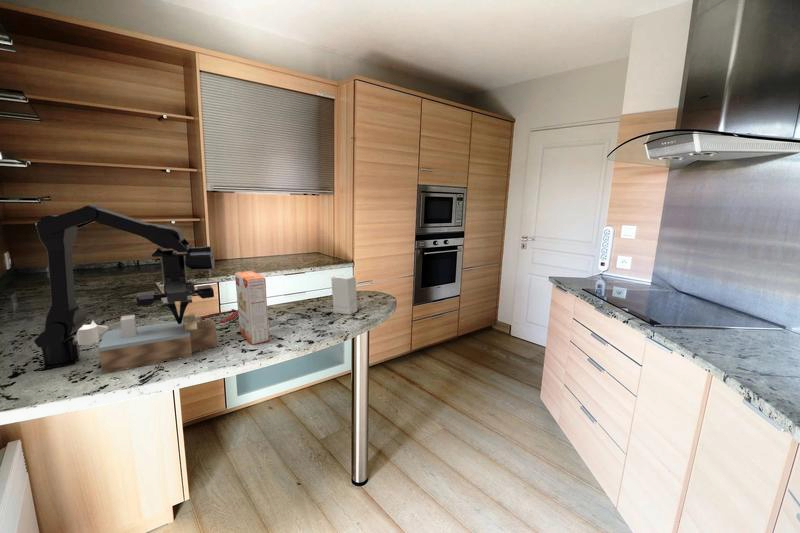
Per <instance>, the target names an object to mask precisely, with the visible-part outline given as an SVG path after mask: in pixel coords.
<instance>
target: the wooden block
mask: <svg viewBox="0 0 800 533" xmlns="http://www.w3.org/2000/svg"><path fill="white" fill-rule="evenodd" d="M196 318H197V317H196V314H195V312H188V313H187V312H186V313H184V316H183V319H182V320H183V322H184V328H185V331H189V330H195V329H197V322H198V321H197V319H196Z"/></svg>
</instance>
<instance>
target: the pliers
mask: <svg viewBox="0 0 800 533" xmlns="http://www.w3.org/2000/svg"><path fill="white" fill-rule="evenodd" d="M231 312H235V313H233V314H232V315H231V316H228V317H224V318H221V319H220V320H219V323H225V322H228V321H231V320H233V319H235V318H236V317H237V316H238V309H234V308H231V309H230V310H227V311H226V310H225V311H221V312H219V311H218V312H216V313H215V312H214V313H209V314H206V315H204V316H202V317H203V318H202V317H200V321H202V320H205V318H210V317H214V316H213V315H218V316H219V314H224V315H226V314H225V313H231ZM206 316H210V317H206Z"/></svg>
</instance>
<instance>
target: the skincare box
mask: <svg viewBox="0 0 800 533" xmlns="http://www.w3.org/2000/svg"><path fill="white" fill-rule="evenodd" d="M330 280H331V293H332V294H331V296H332V305H333V306H332V307H333V308H332V309H333V310H332V311H333V313H334V314H335V313H336V314H341V315H342V314H343V315H353V314H355V313H356V312H358V298H357V296H358V295H357V284H356V281H357V280H356V275H344V274H337V275H334V276H332V277H331V279H330Z"/></svg>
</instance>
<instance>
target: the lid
mask: <svg viewBox="0 0 800 533" xmlns="http://www.w3.org/2000/svg"><path fill="white" fill-rule="evenodd" d="M119 321H120V327H121V328H120V329H119V328H118V329H113V330H106V331H105V332H104V334H103V335H102V337H101V338H102V339H101V341H100V343H99V346H98V353H99V352H100V351H106V350H112V349H118V348H124V347H130V346H136V345H142V344H148V343H154V342H161V341H167V340H173V339H179V338H185V337H190V331H185V328H184V322H183V319H182V323H181V324H178V322H177V321H170V322H162V323H156V324H148V325H142V326H137V320H136V315H135V314H132V315H131V314H130V315H124V316H123V315H122V316H120V320H119Z"/></svg>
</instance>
